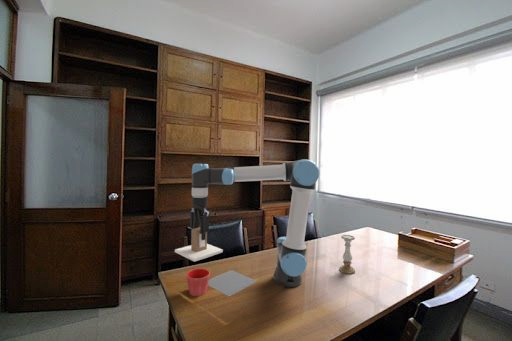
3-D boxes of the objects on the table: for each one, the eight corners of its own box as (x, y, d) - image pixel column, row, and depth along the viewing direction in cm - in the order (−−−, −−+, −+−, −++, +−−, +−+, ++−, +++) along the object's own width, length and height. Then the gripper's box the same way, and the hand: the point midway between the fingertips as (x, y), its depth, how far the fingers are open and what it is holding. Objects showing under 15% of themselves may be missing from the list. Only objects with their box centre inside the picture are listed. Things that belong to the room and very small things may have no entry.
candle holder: (356, 274, 139) (357, 239, 138) (340, 273, 141) (341, 238, 140) (353, 268, 148) (354, 235, 147) (338, 267, 149) (339, 233, 149)
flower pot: (204, 300, 111) (204, 279, 110) (182, 297, 113) (182, 277, 113) (213, 289, 121) (213, 269, 121) (192, 286, 123) (192, 267, 123)
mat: (257, 282, 128) (257, 281, 128) (228, 298, 113) (229, 296, 113) (231, 271, 141) (231, 269, 141) (202, 283, 126) (202, 282, 126)
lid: (222, 252, 117) (223, 229, 117) (194, 261, 106) (194, 235, 105) (202, 244, 128) (203, 223, 128) (174, 252, 116) (175, 228, 116)
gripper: (217, 197, 113) (216, 247, 114) (196, 193, 124) (195, 239, 125) (204, 199, 108) (203, 252, 108) (182, 195, 119) (182, 243, 120)
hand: (199, 245), depth 117 cm, fingers closed on lid, 4 cm apart
